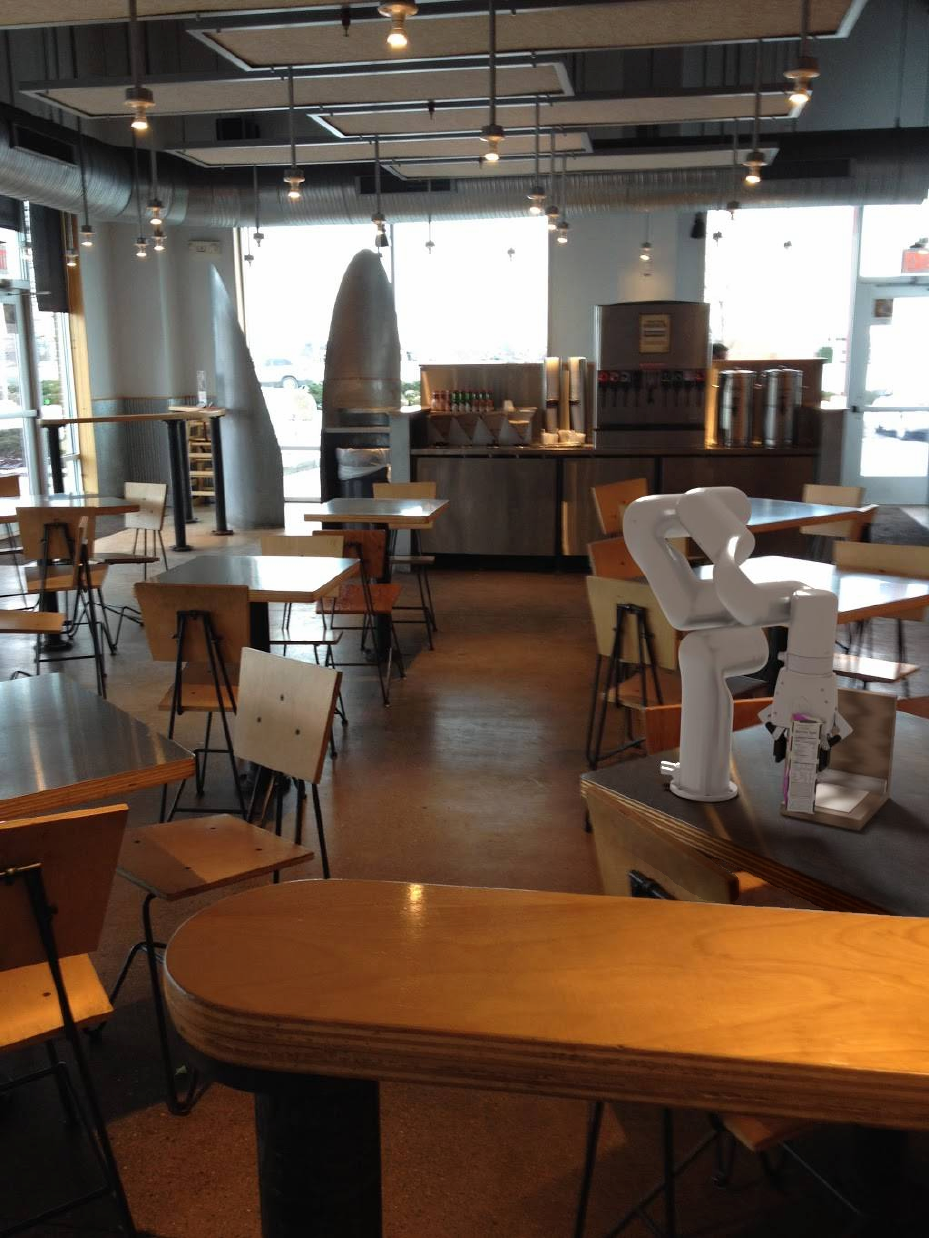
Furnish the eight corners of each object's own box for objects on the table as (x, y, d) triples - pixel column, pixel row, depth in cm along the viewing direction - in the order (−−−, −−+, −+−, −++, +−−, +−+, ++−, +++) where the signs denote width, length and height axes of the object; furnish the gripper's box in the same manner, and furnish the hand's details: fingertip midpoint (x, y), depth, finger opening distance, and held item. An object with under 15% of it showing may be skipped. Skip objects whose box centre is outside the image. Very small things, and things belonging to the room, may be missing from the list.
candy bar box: (780, 788, 196) (788, 699, 192) (809, 791, 195) (818, 702, 191) (783, 812, 185) (792, 718, 181) (814, 815, 184) (824, 721, 180)
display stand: (780, 813, 200) (787, 706, 196) (815, 783, 216) (822, 683, 212) (859, 830, 192) (867, 719, 188) (889, 797, 208) (897, 695, 204)
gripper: (751, 659, 186) (743, 760, 190) (855, 676, 177) (845, 782, 181) (766, 651, 192) (759, 749, 196) (868, 667, 183) (858, 769, 187)
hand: (800, 764), depth 188 cm, fingers closed on candy bar box, 6 cm apart
